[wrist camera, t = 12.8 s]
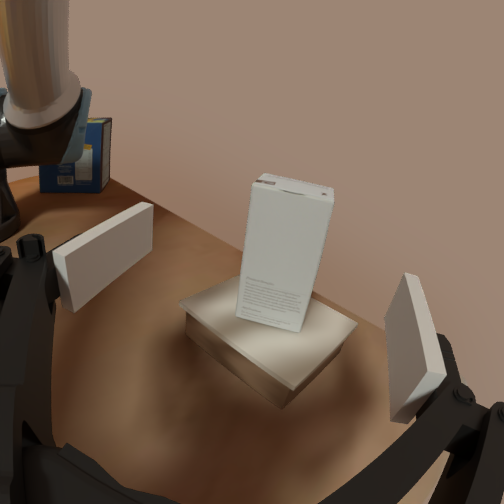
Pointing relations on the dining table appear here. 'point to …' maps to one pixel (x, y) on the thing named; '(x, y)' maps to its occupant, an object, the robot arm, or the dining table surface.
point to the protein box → (82, 164)
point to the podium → (265, 342)
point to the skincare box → (282, 250)
